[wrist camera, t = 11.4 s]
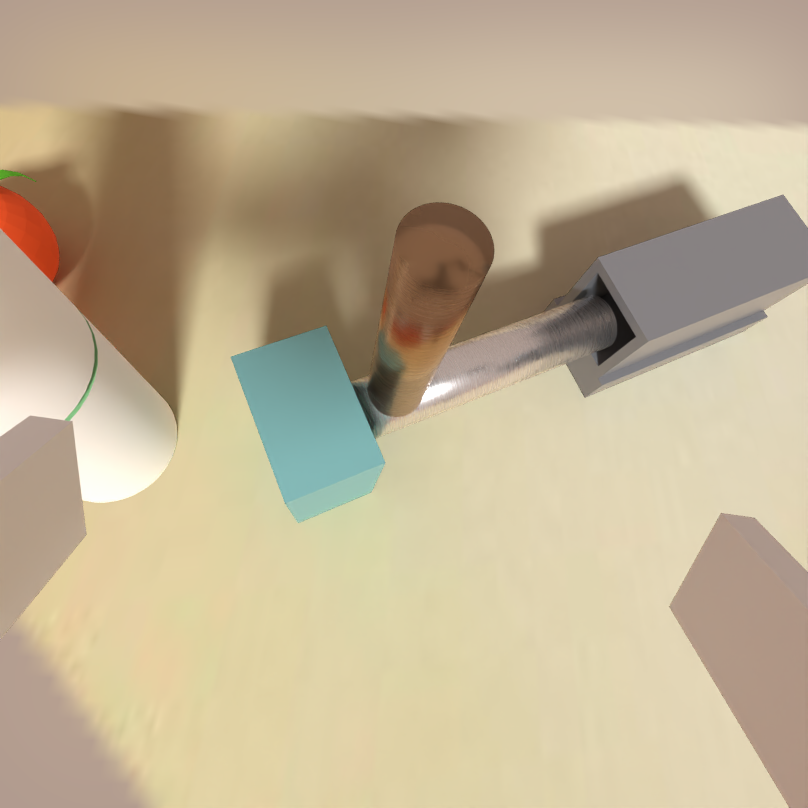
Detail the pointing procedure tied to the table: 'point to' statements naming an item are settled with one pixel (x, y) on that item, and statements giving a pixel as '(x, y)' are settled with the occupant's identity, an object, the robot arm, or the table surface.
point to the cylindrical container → (77, 384)
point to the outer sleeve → (691, 288)
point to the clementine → (28, 229)
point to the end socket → (310, 422)
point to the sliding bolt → (442, 316)
